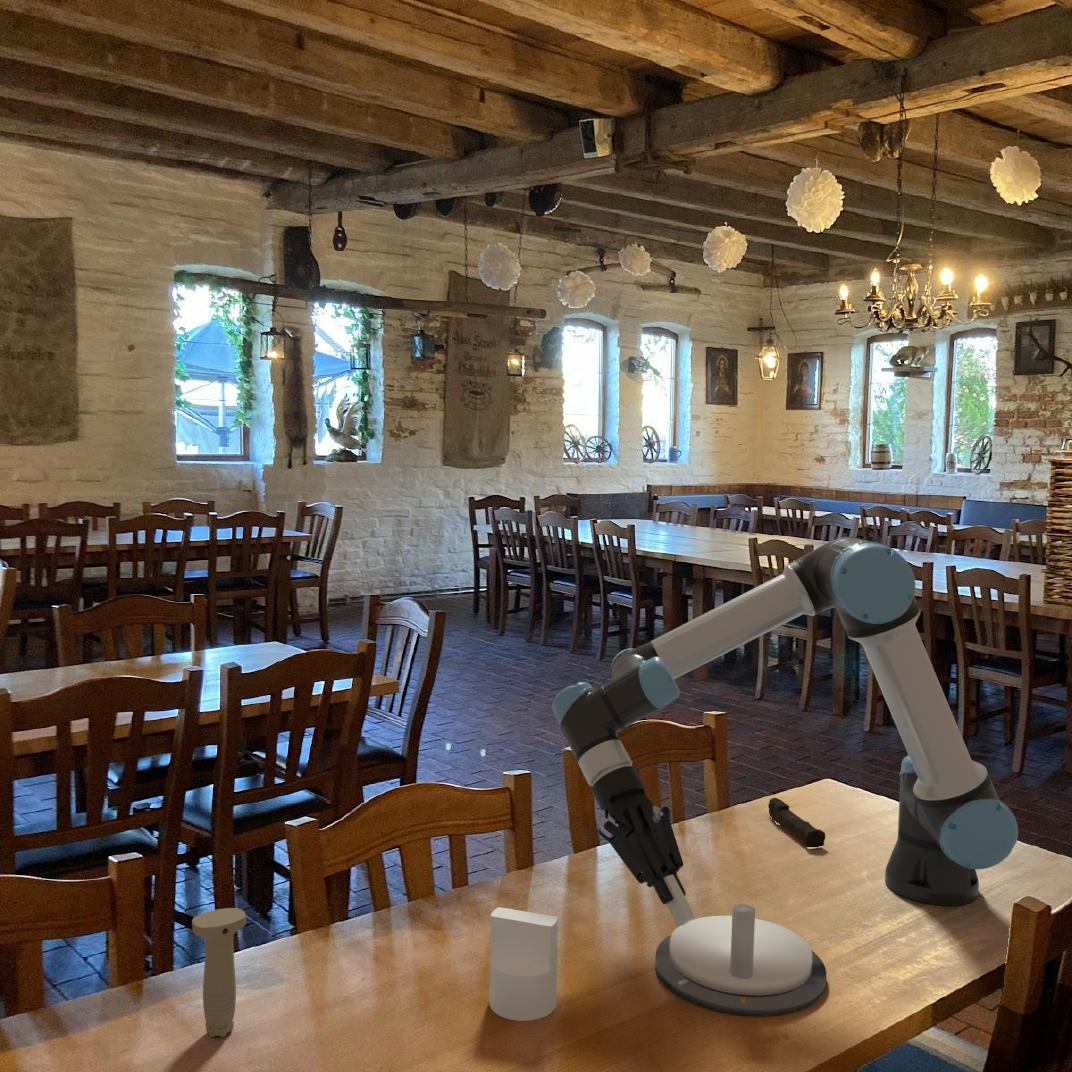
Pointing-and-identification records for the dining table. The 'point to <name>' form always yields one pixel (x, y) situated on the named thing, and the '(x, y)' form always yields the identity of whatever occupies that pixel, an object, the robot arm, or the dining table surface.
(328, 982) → the dining table surface
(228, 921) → the handle
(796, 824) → the hand tool
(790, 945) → the dial
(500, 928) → the cylinder with rectangular tab
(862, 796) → the dining table surface
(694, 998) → the dial base
